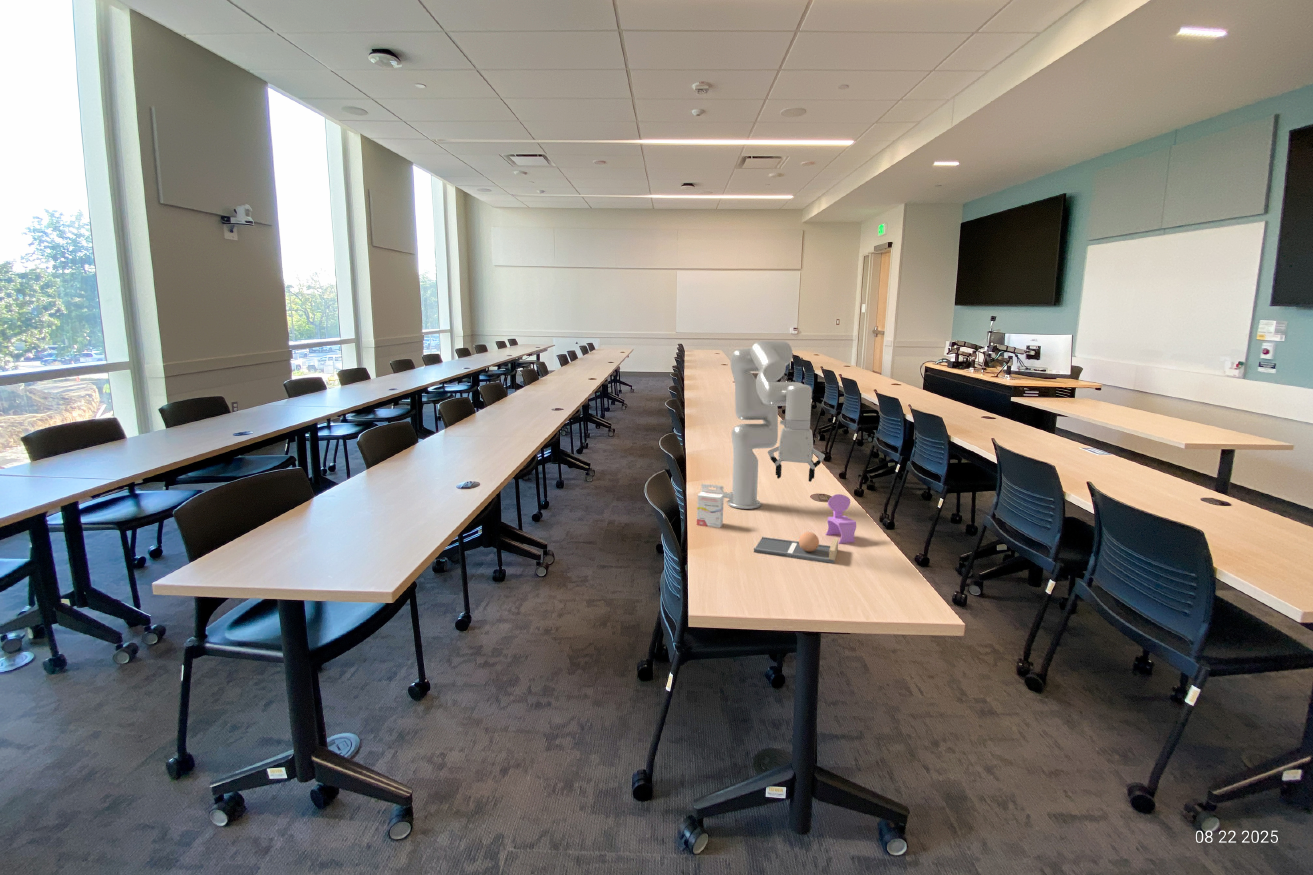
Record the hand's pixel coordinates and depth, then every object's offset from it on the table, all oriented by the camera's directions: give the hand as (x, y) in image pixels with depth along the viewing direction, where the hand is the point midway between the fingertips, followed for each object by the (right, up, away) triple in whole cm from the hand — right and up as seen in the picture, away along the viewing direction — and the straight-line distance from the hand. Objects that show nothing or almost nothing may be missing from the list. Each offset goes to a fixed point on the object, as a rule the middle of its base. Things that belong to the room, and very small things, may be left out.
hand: (794, 479), depth 187 cm
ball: (+4, -16, -3) cm, 17 cm away
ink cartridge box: (-24, -19, +24) cm, 39 cm away
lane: (+1, -23, 0) cm, 23 cm away
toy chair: (+18, -21, +11) cm, 30 cm away
